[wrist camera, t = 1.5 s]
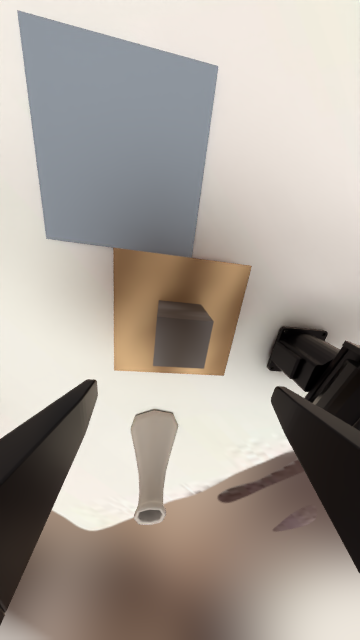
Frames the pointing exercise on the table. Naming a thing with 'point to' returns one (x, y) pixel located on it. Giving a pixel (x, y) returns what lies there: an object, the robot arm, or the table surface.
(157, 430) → the flask
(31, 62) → the slate mat
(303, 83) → the table surface
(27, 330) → the table surface
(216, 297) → the wooden lid
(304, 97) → the table surface
